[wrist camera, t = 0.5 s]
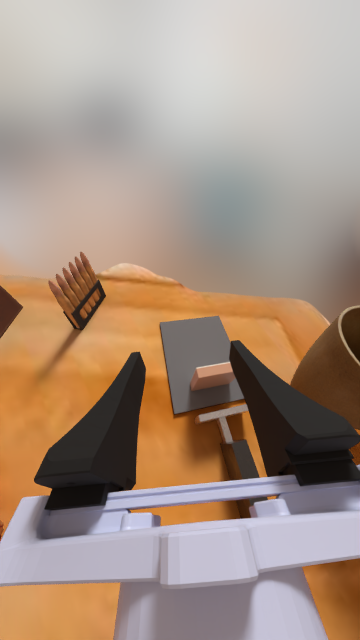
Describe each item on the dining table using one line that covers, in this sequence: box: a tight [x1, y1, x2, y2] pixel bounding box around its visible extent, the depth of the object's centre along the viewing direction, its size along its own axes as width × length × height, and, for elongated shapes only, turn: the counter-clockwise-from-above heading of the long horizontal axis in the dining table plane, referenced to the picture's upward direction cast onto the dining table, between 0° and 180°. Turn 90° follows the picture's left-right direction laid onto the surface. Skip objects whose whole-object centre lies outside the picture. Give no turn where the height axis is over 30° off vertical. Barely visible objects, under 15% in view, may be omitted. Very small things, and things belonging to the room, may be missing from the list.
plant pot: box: [291, 306, 360, 430], centre depth 23 cm, size 15×15×16 cm
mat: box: [160, 316, 244, 414], centre depth 32 cm, size 18×14×1 cm
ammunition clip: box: [49, 252, 106, 330], centre depth 32 cm, size 11×2×12 cm, turn 170°
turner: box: [194, 404, 268, 519], centre depth 21 cm, size 12×8×5 cm
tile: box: [190, 362, 235, 391], centre depth 26 cm, size 2×7×7 cm, turn 102°
